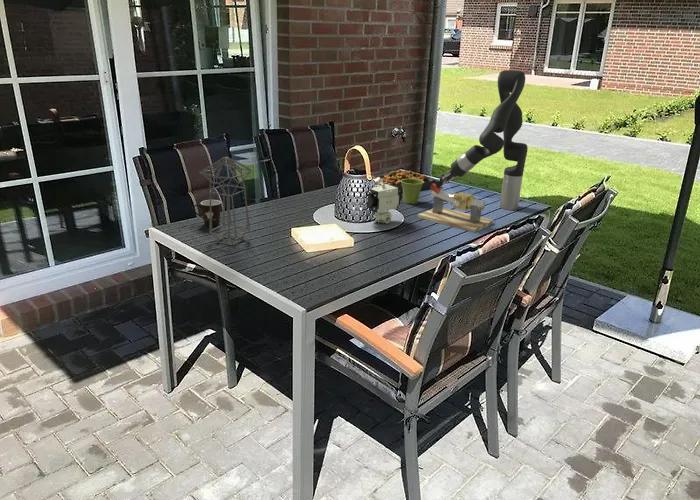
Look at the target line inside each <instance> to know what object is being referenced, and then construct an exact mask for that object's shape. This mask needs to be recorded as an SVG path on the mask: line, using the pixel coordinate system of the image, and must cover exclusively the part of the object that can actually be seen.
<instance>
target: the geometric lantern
mask: <svg viewBox="0 0 700 500" xmlns="http://www.w3.org/2000/svg"><path fill="white" fill-rule="evenodd" d="M240 166H242V167H240ZM223 167H225V168H226V172H227V173H226V174H227V176H220V174H221V171H222V169H223ZM243 170H245V171H244V172H242V171H243ZM237 171H238V173H240V174H238V173H237ZM252 171H253V169H252V168H251V167H249V166H247V165H245V164H243V163H241V162H239V161H237V160H235V159H233V158H230V157H229V156H223V157H222V158H221V157H220V159H218V160H216V161H215V162H214V163H212V164H211V165H209V166H207V167H205V168H204V169H202V170H201V171H199V174H200V175H202V176H204V178H205V179H207V180H208V181H209V200H210V227H209V229H208V231H209V233H210V235H212V236H214V237H215V238H216V243H218V244H223V245H228V246H236V245H237V244H239V243H240V242H243V241H244V235H245V234H247V233H248V232H250V231H251V226H250V218H249V209H248V203H247V202H248V201H247V193H246V192H247V191H246V189H247V187H246V185H245V180H246V178H247V177H248V176H249V174H250V173H251V172H252ZM208 172H209V173H208ZM211 172H212V173H211ZM230 173H231V177H230ZM213 178H215V180H216V181H215V182H214V181H213V180H212V179H213ZM236 178H237V179H236ZM218 179H219V180H220V181H219V182H218ZM222 179H223V180H222ZM240 179H241V180H240ZM227 180H229V181H228V183H227V184H226V183H225V182H226V181H227ZM232 180H234V181H235V182H236V183H237V184H236V185H230V183H232V182H231V181H232ZM241 183H242V186H239V184H241ZM215 185H218V186H216V187H215ZM225 187H227V192H226V191H225ZM230 187H233V188H234V190H233V192H232V193H231V194H230ZM218 188H220V189H221V190H222V193H218V192H214V191H213V190H215V189H218ZM238 188H239V189H243V190H240V191H238V192H236V189H238ZM242 192H243V194H244V195H243V196H244V204H245V216H246V225H241V224H236V217H235V216H236V215H235V205H234V198H233V197H234V196H235V195H237V194H239V193H242ZM212 194H215V195H219V196H222V202H223V203H222V205H223V206H222V207H223V208H222V210H223V213H222V215H223V216H222V220H223V221H222V222H223V223H222V224H219V225H218V226H215V228H213V227H212V212H211V200H212ZM225 197H226V199H225ZM230 197H231V201H230ZM225 200H226V201H225ZM225 202H226V205H225ZM225 206H226V208H225ZM231 206H232V214H233V223H232V218H231V217H232V215H231ZM225 209H227V223H226V222H225V219H226V217H225V216H226V215H225V213H226V212H225ZM225 225H227V226H228V229H226V227H225ZM230 226H234V231H231V227H230ZM221 227H223V228H224V232H222V233H221V234H219V233H214V232H213V231H215V230H217V229H219V228H221ZM237 227H240V228H241V227H242V228H245V229H244V231H243V232H237ZM231 234H234V235H235V236H233V235H231ZM232 239H233V240H232ZM238 239H241V240H238ZM222 240H223V241H229V242H231V243H228V242H227V243H226V242H220V241H222ZM236 240H238V241H237V242H236ZM233 242H234V243H233Z"/></svg>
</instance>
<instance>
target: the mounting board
mask: <svg viewBox="0 0 700 500" xmlns="http://www.w3.org/2000/svg"><path fill="white" fill-rule="evenodd" d="M432 210H433V208H431V209H429V210H426V211H425V210H424V211H423V212H421V213H418V215H417V216H418V217H417V218H418V219H423V220H427V221H430V222H434V223H438V224H441V225H445V226H447V227H448V226H449V227H453V228H456V229H461V230H464V231H468V232H471V231H472V232H471V233H477V232H479V231H481V230H483V229H485V228H487V227H489V226H490V225H492V224H494V219H490V218H486V217H483V216H481V217H480V222H478V223H476V224H474V223H470V214H471V213H465V212H462V211H458V210H453V209H450V208H445V207H443V211H442V213H439V214H435V213H432ZM476 231H477V232H476Z"/></svg>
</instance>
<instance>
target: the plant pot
mask: <svg viewBox="0 0 700 500" xmlns="http://www.w3.org/2000/svg"><path fill="white" fill-rule="evenodd" d="M401 182H402V187H403V192H402V199H403V202H404V203H405V204H412V205H415V204H418V203H419V198H420V194H421V191H422V190H421V187H422V184H423V183H424V181H422V180H418V179H402V180H401Z"/></svg>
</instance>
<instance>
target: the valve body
mask: <svg viewBox="0 0 700 500" xmlns="http://www.w3.org/2000/svg"><path fill="white" fill-rule="evenodd" d="M444 192H445V191H444ZM445 193H447V194H448V195H449V196H451V197H452V198H454V199H455V200H456V201H457V200H458V201H459V202H460V206H459V207H454V205H453V204H452V203H451V202H449V201H448V200H446V199H445V198H444V197H442V196H441V195H440V194H437V193H435V192H434V191H432V190H431V193H430V198H431V199H432V200H433V202H432V209H433V210H432V213H435V214H439V213H442V211H443V208H444V203H449V204H450V205H451V206H452V207H453V209H456V210H462V211H465V212H466V211H468V210H470V213H469V214H470V223H474V224H476V223H478V222H480V217H482V212H483V211H484V210H485V207H486V201H485V200H481V199H477V198H476V197H475V196H474V194H472V193H466V192H462V191H459V192H458V193H457V192H453V193H451V192H450V193H449V192H445Z"/></svg>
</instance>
